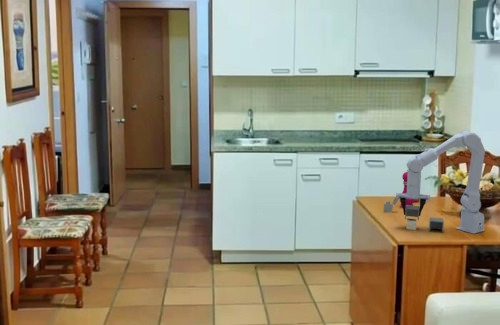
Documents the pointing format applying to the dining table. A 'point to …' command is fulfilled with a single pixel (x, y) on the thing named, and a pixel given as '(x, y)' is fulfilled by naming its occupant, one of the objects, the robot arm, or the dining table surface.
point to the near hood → (436, 223)
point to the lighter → (389, 205)
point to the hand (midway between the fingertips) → (412, 214)
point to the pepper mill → (408, 201)
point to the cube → (411, 224)
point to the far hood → (412, 211)
